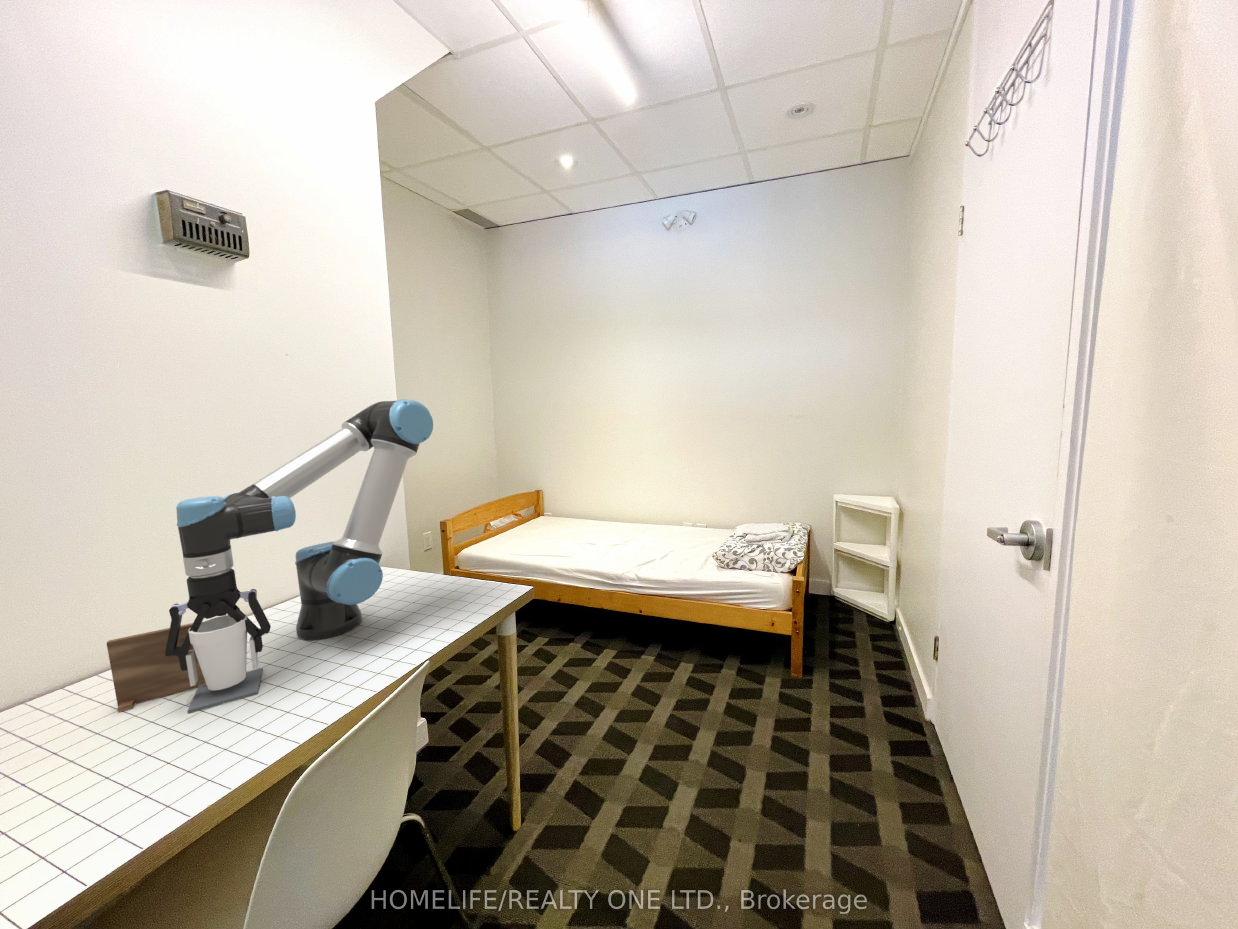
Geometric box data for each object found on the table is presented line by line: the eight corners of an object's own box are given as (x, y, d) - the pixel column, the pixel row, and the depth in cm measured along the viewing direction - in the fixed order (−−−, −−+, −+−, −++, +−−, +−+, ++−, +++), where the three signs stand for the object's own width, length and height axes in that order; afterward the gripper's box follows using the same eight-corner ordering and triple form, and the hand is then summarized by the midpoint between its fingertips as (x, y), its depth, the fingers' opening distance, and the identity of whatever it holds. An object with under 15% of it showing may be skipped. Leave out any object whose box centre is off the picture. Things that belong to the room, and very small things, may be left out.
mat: (199, 687, 102) (199, 684, 102) (262, 670, 108) (262, 667, 108) (187, 713, 93) (187, 710, 93) (257, 693, 99) (257, 691, 99)
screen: (123, 700, 98) (112, 636, 96) (222, 675, 106) (213, 615, 105) (114, 713, 94) (102, 646, 92) (218, 685, 102) (209, 624, 101)
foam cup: (265, 673, 103) (257, 616, 101) (217, 698, 94) (208, 636, 93) (235, 666, 106) (227, 611, 104) (186, 690, 97) (177, 630, 96)
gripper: (129, 590, 88) (149, 702, 91) (275, 565, 100) (288, 665, 103) (142, 579, 95) (160, 684, 97) (277, 557, 106) (290, 651, 109)
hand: (226, 674), depth 100 cm, fingers closed on foam cup, 9 cm apart
